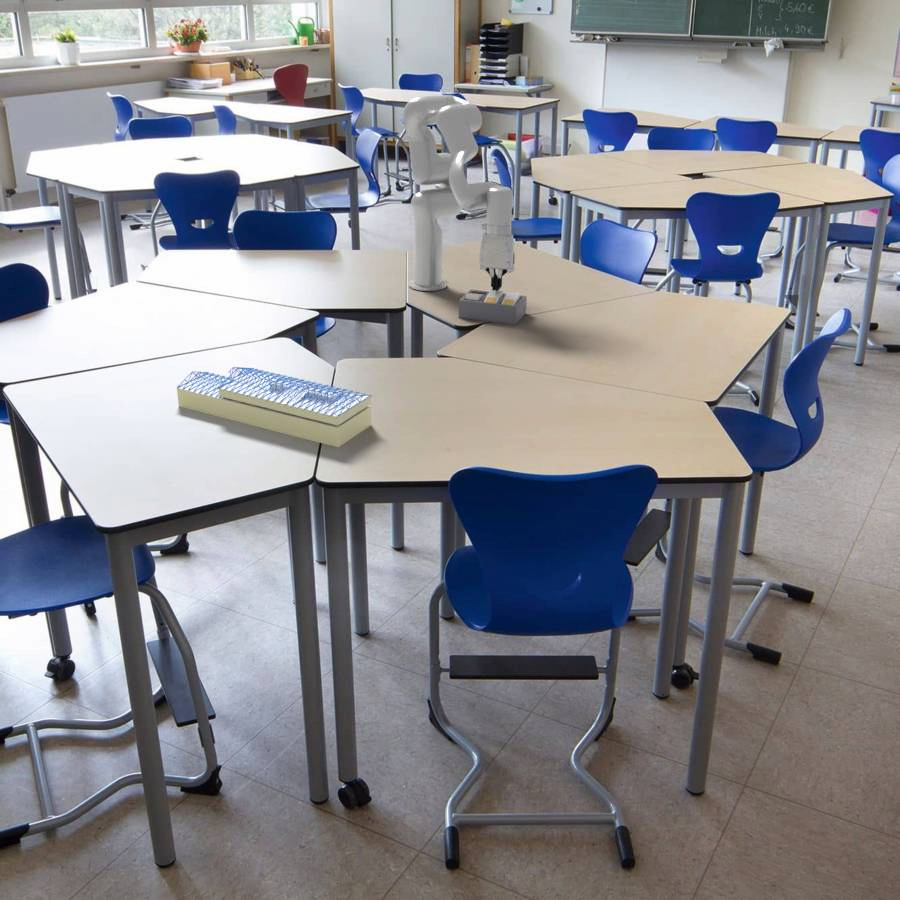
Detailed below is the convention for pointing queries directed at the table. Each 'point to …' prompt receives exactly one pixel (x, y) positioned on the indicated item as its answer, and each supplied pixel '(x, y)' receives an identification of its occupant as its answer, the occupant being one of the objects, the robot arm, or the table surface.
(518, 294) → the rocker outlet
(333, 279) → the table surface
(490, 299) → the outlet rocker
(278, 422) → the keyboard
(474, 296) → the outlet rocker
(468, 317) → the grey storage tray
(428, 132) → the robot arm
